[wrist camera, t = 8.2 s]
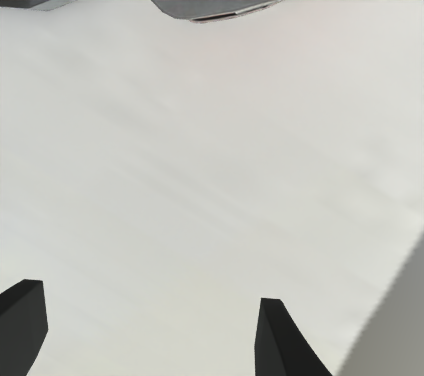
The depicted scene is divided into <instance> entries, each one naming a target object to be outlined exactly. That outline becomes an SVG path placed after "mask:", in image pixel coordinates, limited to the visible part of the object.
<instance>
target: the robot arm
mask: <svg viewBox="0 0 424 376" xmlns="http://www.w3.org/2000/svg"><path fill="white" fill-rule="evenodd" d="M47 332H48V323H47V314H46V306H45V297H44V288H43V281H40V280H28V279H24V280H22V281H20V282H19V283H17V284H15V285H14V286H12V287H10V288H9V289H7V290H6V291H4V292H3V293H1V294H0V376H26V375H27V373H28V371H29V370H30V368H31V366H32V365H33V363H34V361H35V359H36V357H37V355H38V353H39V351H40V348H41V346H42V344H43V341H44V339H45V337H46V334H47ZM254 349H255V376H332V374H331V373H330V372H329V371H328V370H327V368H326V367H325V366H324V364H323V363H322V362H321V361H320V359H319V358H318V357H317V355H316V354H315V353H314V351H313V350H312V348H311V347H310V345H309V344H308V343H307V341H306V340H305V338H304V337H303V335H302V334H301V332H300V331H299V329H298V328H297V326H296V324H295V323H294V321H293V320H292V318H291V316H290V315H289V313H288V311H287V309H286V308H285V306H284V304H283V302H282V301H281V300H280V299H270V298H261V303H260V310H259V317H258V324H257V331H256V339H255V346H254Z"/></svg>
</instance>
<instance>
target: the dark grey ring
mask: <svg viewBox="0 0 424 376" xmlns="http://www.w3.org/2000/svg"><path fill="white" fill-rule="evenodd" d="M74 1H76V0H0V7H2V8H14V9H26V10H38V11H51V10H53V9H56V8H58V7H61V6H63V5H66V4H69V3H71V2H74Z"/></svg>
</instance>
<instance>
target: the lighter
mask: <svg viewBox="0 0 424 376" xmlns="http://www.w3.org/2000/svg"><path fill="white" fill-rule="evenodd" d="M151 1H152V2H153V3H154V4H155V5H156V6H157V7H158V8H159V9H160V10H161V11H162V12H163V13H165V14H167V15H169V16H171V17H173V18H176V19H185V20H189V21H191V22H193V23H207V22H214V21H220V20H226V19H232V18H236V17H239V16H243V15H246V14H249V13H253V12H256V11H260V10H263V9H266V8H268V7H270V6H273V5H275V4H277V3H279V2H281V1H283V0H151Z"/></svg>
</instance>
